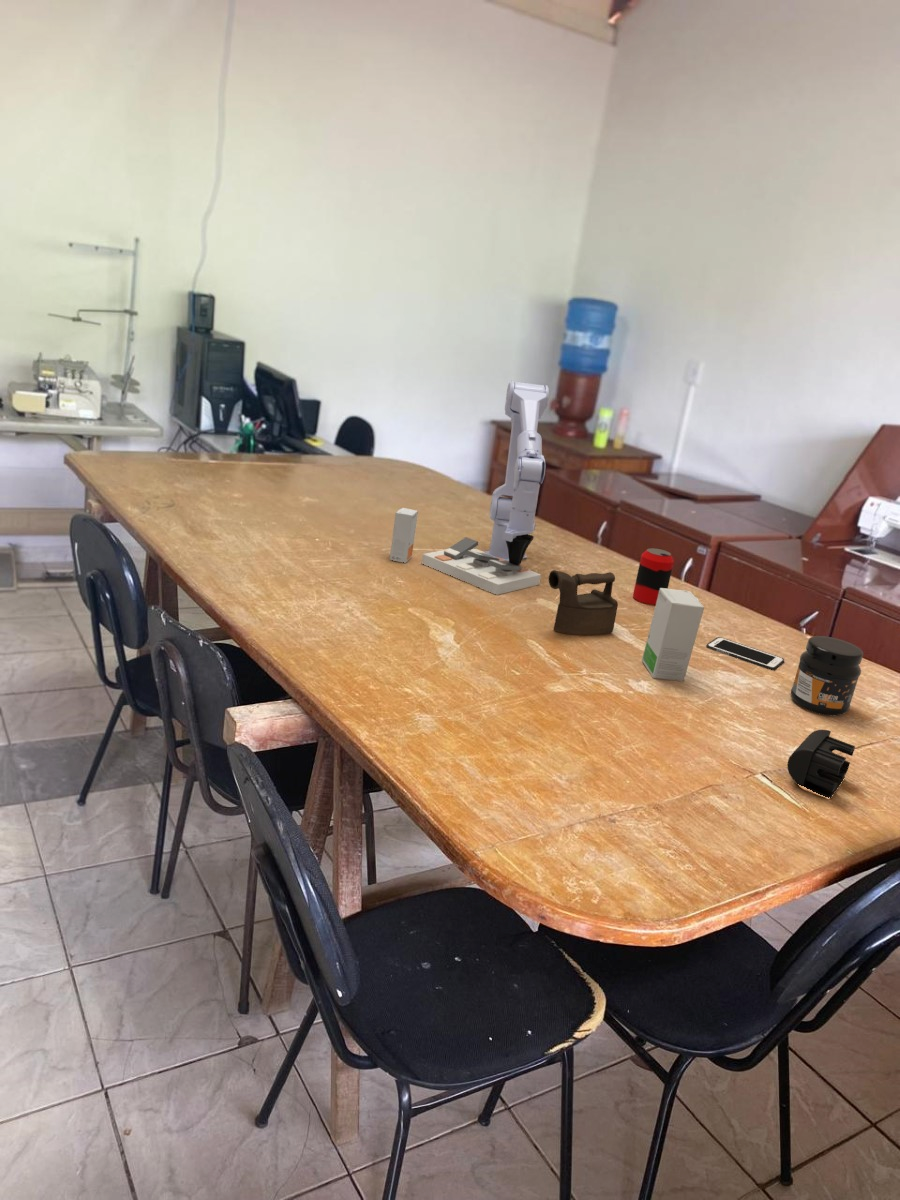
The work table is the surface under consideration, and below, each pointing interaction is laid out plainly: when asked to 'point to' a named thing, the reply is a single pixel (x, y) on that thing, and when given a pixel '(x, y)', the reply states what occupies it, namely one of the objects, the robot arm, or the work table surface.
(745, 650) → the cell phone
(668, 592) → the skincare box
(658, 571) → the soda can
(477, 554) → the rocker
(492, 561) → the block
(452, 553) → the block
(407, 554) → the skincare box
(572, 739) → the work table surface
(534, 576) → the console
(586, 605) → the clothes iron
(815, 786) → the end cap
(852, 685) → the supplement container
